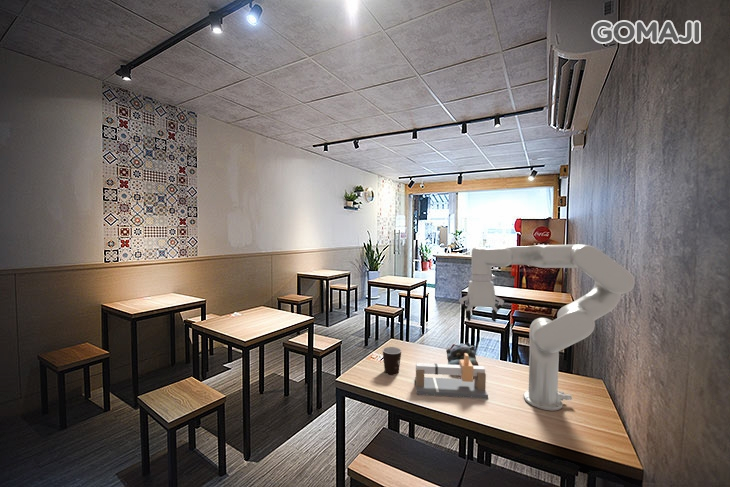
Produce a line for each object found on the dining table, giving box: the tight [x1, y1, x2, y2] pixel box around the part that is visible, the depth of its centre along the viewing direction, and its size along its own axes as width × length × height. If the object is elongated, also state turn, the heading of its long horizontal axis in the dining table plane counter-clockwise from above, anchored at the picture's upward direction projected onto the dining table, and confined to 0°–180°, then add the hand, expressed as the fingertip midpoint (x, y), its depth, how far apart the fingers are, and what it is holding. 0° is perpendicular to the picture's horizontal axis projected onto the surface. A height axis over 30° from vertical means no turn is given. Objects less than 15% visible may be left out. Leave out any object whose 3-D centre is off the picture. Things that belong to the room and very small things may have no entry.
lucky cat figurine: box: [445, 341, 480, 366], centre depth 144 cm, size 15×12×14 cm
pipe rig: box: [414, 362, 489, 400], centre depth 126 cm, size 27×12×10 cm, turn 85°
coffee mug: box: [382, 346, 402, 376], centre depth 142 cm, size 12×9×10 cm
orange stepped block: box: [459, 353, 474, 382], centre depth 126 cm, size 4×6×10 cm, turn 175°
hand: (481, 320), depth 125 cm, fingers open, 9 cm apart
